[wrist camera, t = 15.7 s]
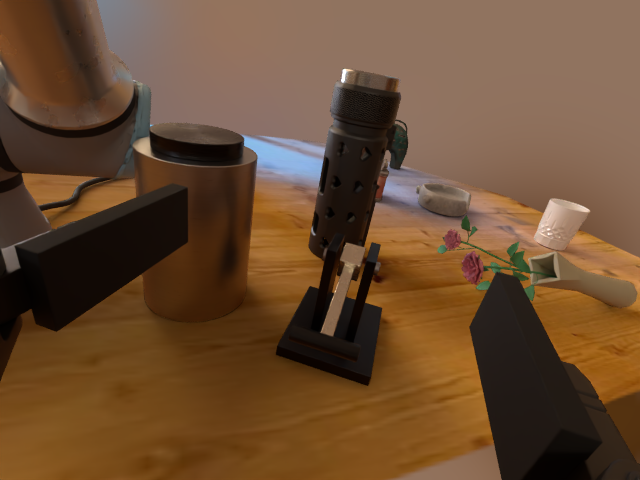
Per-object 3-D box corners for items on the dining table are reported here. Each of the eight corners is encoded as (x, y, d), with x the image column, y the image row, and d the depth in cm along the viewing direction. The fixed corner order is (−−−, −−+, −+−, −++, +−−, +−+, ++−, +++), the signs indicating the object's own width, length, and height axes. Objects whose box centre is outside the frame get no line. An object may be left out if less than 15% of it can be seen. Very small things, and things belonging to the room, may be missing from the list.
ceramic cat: (353, 166, 116) (367, 104, 107) (347, 160, 121) (359, 101, 112) (403, 170, 122) (420, 113, 113) (395, 165, 127) (410, 110, 119)
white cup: (554, 253, 75) (576, 212, 71) (523, 236, 82) (542, 198, 77) (574, 251, 79) (597, 212, 74) (544, 235, 85) (563, 198, 80)
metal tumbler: (214, 335, 37) (222, 156, 28) (120, 303, 38) (98, 126, 30) (260, 279, 47) (276, 137, 38) (184, 256, 49) (182, 116, 40)
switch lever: (354, 368, 28) (359, 354, 27) (287, 345, 29) (288, 331, 28) (378, 267, 37) (383, 252, 35) (326, 252, 38) (329, 237, 36)
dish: (463, 206, 96) (470, 189, 93) (471, 223, 83) (479, 205, 81) (412, 194, 98) (418, 177, 95) (413, 209, 85) (419, 191, 83)
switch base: (368, 386, 34) (400, 291, 29) (275, 354, 36) (290, 259, 30) (379, 315, 45) (404, 236, 39) (308, 293, 46) (323, 215, 41)
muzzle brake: (355, 238, 65) (302, 235, 62) (394, 78, 52) (330, 65, 49) (372, 264, 56) (312, 263, 54) (423, 83, 44) (349, 68, 41)
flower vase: (595, 350, 58) (436, 313, 47) (556, 292, 67) (413, 249, 55) (668, 315, 51) (500, 260, 39) (613, 255, 60) (462, 195, 48)
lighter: (366, 190, 93) (375, 154, 89) (378, 192, 93) (387, 156, 89) (370, 200, 86) (380, 162, 81) (383, 202, 86) (393, 164, 82)
